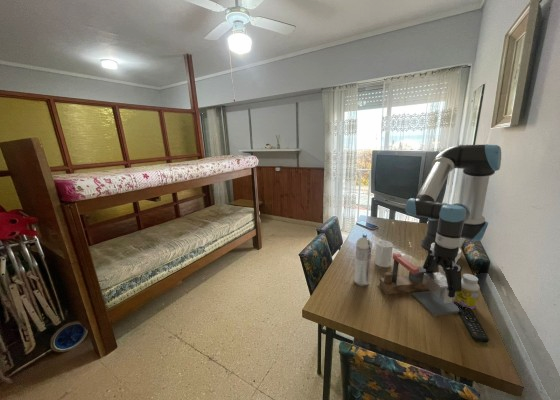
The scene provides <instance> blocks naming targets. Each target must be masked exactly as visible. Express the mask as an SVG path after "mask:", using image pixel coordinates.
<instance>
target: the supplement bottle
mask: <svg viewBox="0 0 560 400" xmlns="http://www.w3.org/2000/svg"><path fill="white" fill-rule="evenodd" d="M478 282H479V278H478V277H477V276H475V275H473V274H471V273H463V274H462V276H461V285H462V291H458V292H456V297H454V302H455V303H456V302H457V303H459V304H462V305H464V306H467V307H469V308H471V309H470V310H472V309H474V308H475V307H476V306H477V301H478V297H479V293H480V285H479V284H478ZM457 303H456V304H457Z"/></svg>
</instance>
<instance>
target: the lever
mask: <svg viewBox="0 0 560 400" xmlns="http://www.w3.org/2000/svg"><path fill="white" fill-rule="evenodd" d="M392 259H393V261H394V260H396V261H397V262H398V263H399V265H401V266H402V267H403V268H405V269H406V270H407V271H408V272H409V271H410V272H411V273H412V274H417V273H419V269H418V268H417V267H418V266H416V265H414V264H413V263H412V262H410V261H409V260H407V259H406V258H405V257H403V256H402V254H400V253H396V252H395V253H392Z"/></svg>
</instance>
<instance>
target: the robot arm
mask: <svg viewBox="0 0 560 400" xmlns="http://www.w3.org/2000/svg"><path fill="white" fill-rule="evenodd" d="M501 165H502V148H501V146H500V145H498V144H488V143H487V144H456V145H452V146H450V147H448V148H445V149H444V150H442V151H441V152H439V153H438V154H437V155H436V156H435V157H434V158H433V160H432V162H431V168H430V170H429V172H428V175H427V177H426V178H425V180H424V182H423V184H422V186H421V188H420V189H419V191H418V193H417V194H416V197H415V198H414V197H413V198H412V197H410V198H409V199H408V200H407V201H406V203H405V210H404V211H405V213H406V214H407V215H411V216H414V217H420V218H426V219H427V220H428V221H427V226H426V233H425V235H424V237H423V239H422V240H421V247H422V248H423V249H425V250H427V256H426V259H425V260H424V263H423V265H422V267H423V268H424V269H425V270H426V272H427V273H432V272H434V270H435V269H436V268H437V267H438V266H439V265H440V266H442V267H443V271H445V275H446V276H445V275H444V276H445V277H446V279H447V284H448V288H446V292H445V297H444V303H451V302H453V298H455V297H454V295H455V292H458V291H462V285H461V279H462V270H463V265H459V264H457V262H456V263H455V258H456V257H457V255H458V250H459V248H460V246H461V239H464V240H465V239H466V240H469V241H475V242H480V241H482V239H483V238H484V235H485V233H486V230H487V228H488V225H489V222H488V221H486V218H485V216H484V215H483V212H484V206H485V202H486V197H487V192H488V187H489V180H490V177H491V176H493V175H494V174H495V172H497V171H499V170H500V168H501ZM454 169H461V170H462V172H463V175H465V176H466V177H465V184H464V191H463V197H462V203H460V202H459V203H453V204H450V203H444V202H438V201H437V198H438V197H439V195H440V192H441V190H442V189H443V186H444V184H445V183H446V180H447V177H449V176H448V175H449V174H450V172H452V171H453V170H454ZM432 243H435V245H434V250H430V248H431V244H432ZM434 258H435V259H434ZM447 268H450V269H447Z"/></svg>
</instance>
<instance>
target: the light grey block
mask: <svg viewBox="0 0 560 400" xmlns="http://www.w3.org/2000/svg"><path fill="white" fill-rule="evenodd" d="M422 284H423V285H424V286H425V287H427V288H428V289H429V290H428V291H431V292H432V293H434V294H435V295H436V296H437V297H438V298H444V297H445V292H446V288H448V284H447V279H446V276H445V275H442V274H441V273H440V272H436V273H425V274H424V276H423V283H422ZM455 297H456V292H455V295H454V297H453V298H455Z"/></svg>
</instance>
